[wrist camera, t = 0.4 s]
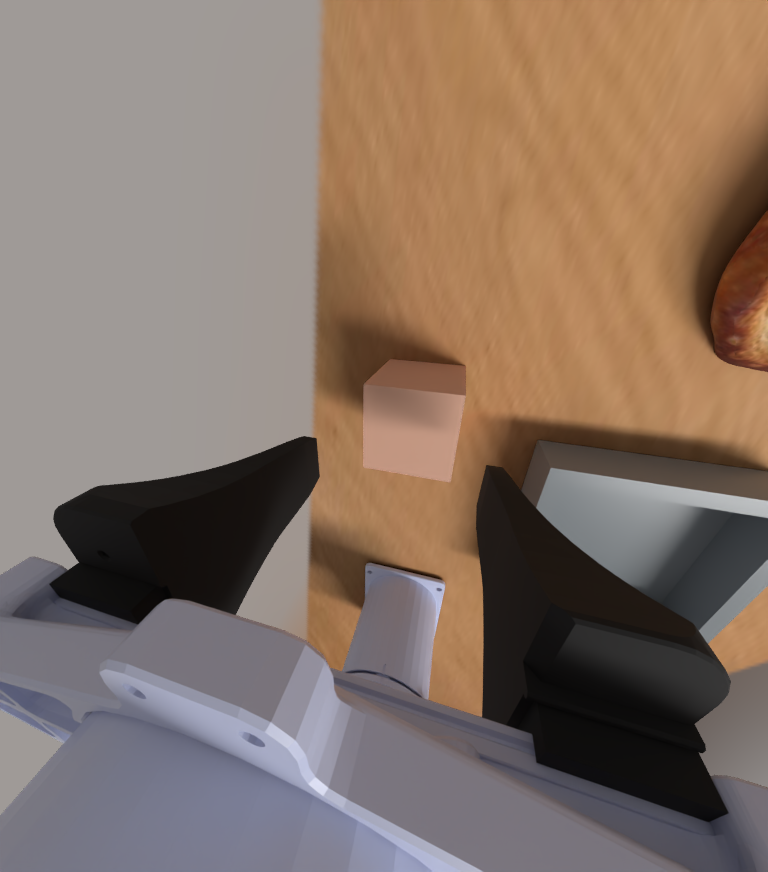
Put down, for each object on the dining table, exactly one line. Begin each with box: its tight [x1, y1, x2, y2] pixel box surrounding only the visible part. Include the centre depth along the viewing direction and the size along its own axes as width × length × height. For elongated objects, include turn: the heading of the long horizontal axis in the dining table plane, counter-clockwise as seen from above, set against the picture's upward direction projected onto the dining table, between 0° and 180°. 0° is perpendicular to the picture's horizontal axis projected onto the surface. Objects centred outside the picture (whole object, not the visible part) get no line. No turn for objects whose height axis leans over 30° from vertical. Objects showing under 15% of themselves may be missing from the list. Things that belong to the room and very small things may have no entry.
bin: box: [521, 440, 768, 643], centre depth 20 cm, size 13×13×4 cm
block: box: [363, 359, 466, 482], centre depth 18 cm, size 5×5×6 cm
